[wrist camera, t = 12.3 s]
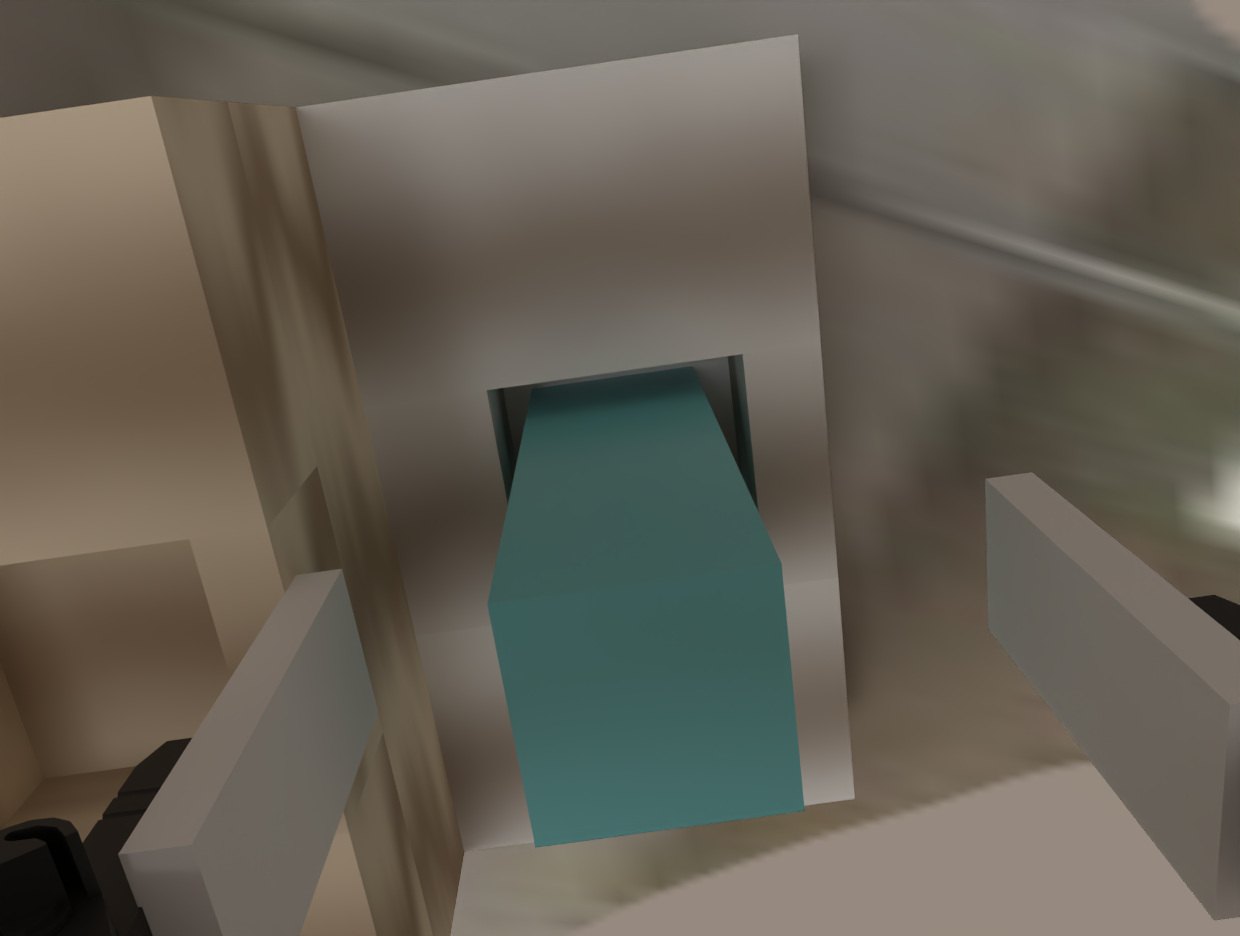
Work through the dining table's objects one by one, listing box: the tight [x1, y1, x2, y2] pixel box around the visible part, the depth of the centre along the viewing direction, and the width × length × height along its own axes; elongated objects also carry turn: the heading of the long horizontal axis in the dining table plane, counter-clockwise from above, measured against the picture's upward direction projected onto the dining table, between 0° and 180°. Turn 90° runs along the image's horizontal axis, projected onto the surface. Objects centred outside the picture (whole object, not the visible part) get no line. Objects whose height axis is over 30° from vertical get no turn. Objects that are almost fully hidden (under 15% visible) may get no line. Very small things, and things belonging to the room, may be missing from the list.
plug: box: [487, 366, 805, 847], centre depth 20 cm, size 5×4×12 cm
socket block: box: [0, 34, 855, 936], centre depth 21 cm, size 18×18×11 cm
